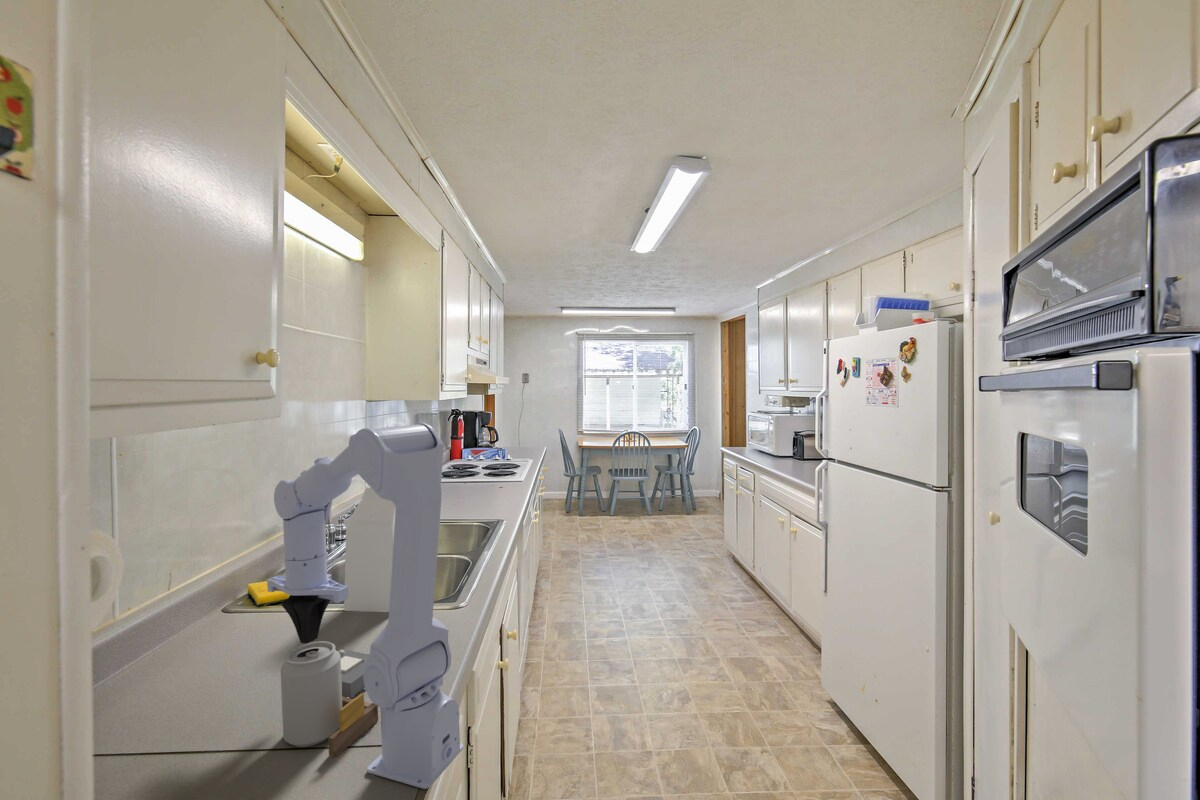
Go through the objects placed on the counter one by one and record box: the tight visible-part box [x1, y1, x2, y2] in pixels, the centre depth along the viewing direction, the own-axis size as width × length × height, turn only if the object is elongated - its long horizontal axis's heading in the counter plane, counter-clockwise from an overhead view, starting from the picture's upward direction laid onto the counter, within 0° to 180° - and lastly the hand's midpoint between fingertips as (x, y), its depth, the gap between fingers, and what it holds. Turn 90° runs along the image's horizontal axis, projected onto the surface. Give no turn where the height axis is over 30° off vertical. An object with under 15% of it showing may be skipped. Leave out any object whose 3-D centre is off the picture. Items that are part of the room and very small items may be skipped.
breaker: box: [341, 656, 362, 674], centre depth 90 cm, size 4×4×2 cm
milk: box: [343, 485, 396, 613], centre depth 122 cm, size 12×12×26 cm
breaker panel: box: [337, 648, 370, 699], centre depth 90 cm, size 10×8×3 cm
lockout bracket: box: [327, 692, 379, 758], centre depth 77 cm, size 10×8×6 cm
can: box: [280, 640, 342, 748], centre depth 76 cm, size 8×8×12 cm
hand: (309, 640), depth 84 cm, fingers closed
